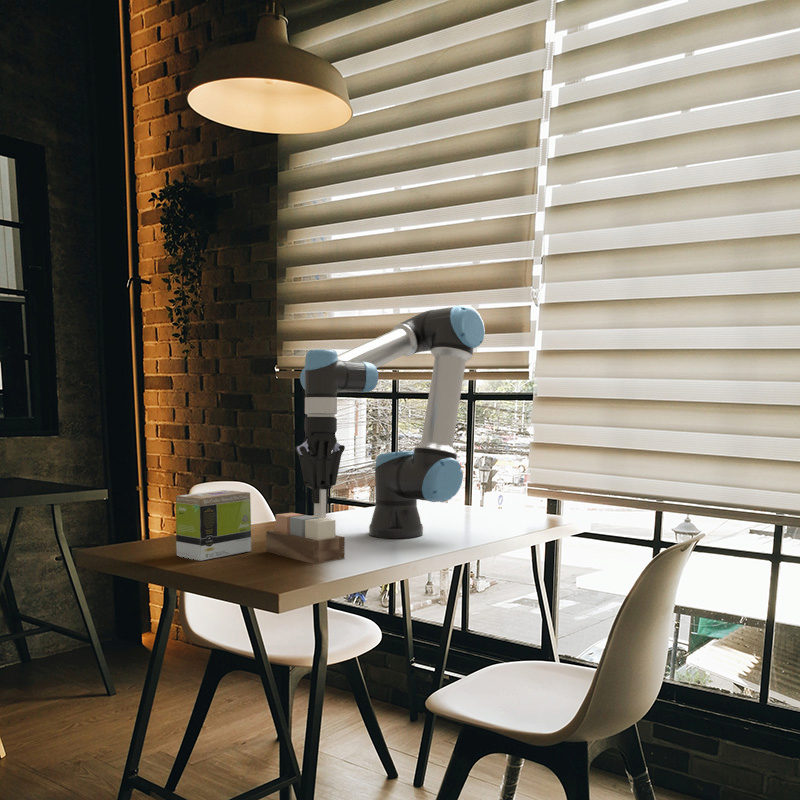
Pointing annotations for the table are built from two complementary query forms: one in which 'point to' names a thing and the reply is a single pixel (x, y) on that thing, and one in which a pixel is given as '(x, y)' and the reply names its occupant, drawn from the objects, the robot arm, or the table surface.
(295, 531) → the blue-grey block
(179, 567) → the table surface
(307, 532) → the cream block
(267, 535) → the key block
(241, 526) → the tea box
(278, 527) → the salmon pink block
